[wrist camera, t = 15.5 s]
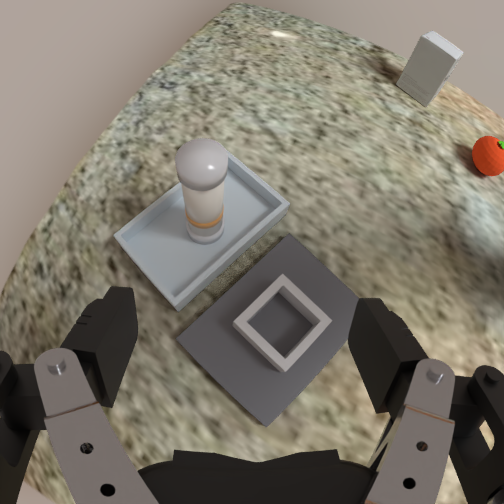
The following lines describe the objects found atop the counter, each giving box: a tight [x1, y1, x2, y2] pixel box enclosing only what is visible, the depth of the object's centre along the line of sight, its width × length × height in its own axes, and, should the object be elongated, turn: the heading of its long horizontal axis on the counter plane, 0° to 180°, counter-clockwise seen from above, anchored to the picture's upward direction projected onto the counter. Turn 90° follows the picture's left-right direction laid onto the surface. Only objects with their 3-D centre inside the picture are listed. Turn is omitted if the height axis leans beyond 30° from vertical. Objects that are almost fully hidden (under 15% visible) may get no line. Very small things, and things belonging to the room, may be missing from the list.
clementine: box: [472, 136, 504, 176], centre depth 42 cm, size 8×7×7 cm
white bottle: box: [175, 138, 228, 245], centre depth 29 cm, size 4×4×12 cm
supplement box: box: [396, 31, 464, 107], centre depth 45 cm, size 7×7×13 cm
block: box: [176, 233, 359, 427], centre depth 30 cm, size 16×12×4 cm
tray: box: [113, 150, 290, 312], centre depth 34 cm, size 16×10×3 cm, turn 136°
